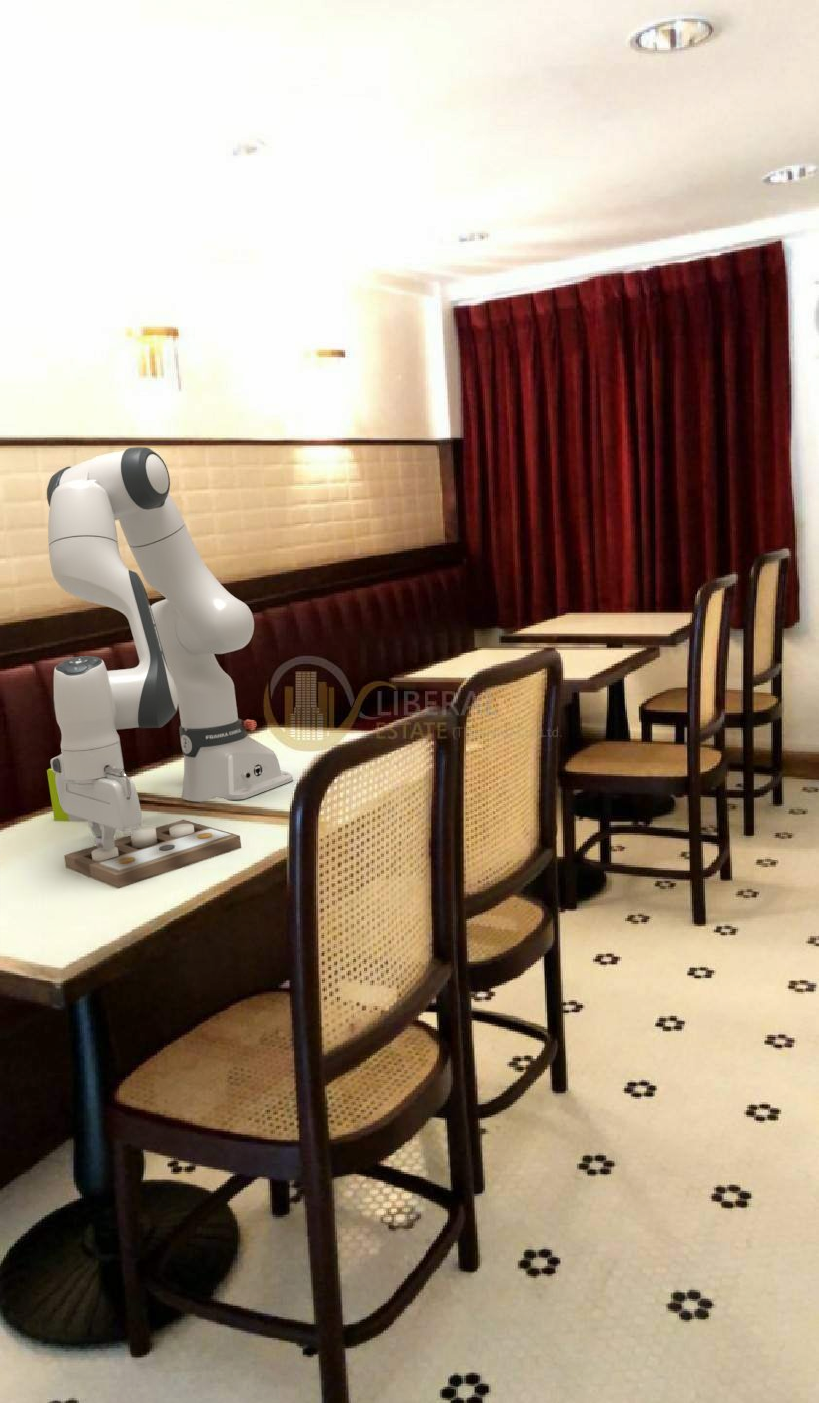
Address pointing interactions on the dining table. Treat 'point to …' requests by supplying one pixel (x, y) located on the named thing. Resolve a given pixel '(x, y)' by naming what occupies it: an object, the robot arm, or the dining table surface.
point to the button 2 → (181, 830)
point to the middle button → (143, 836)
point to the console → (153, 855)
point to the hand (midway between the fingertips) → (105, 847)
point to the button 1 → (104, 854)
